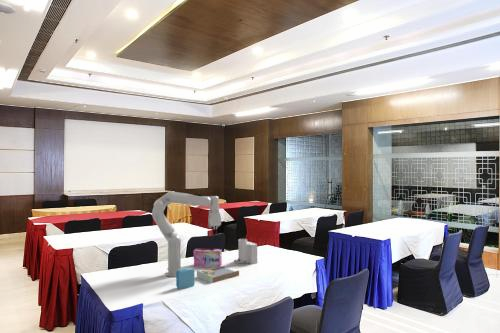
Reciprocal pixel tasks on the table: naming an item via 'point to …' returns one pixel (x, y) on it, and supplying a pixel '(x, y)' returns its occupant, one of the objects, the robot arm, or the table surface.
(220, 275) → the box
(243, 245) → the control panel
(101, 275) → the table surface
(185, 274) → the data package
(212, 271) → the maple block
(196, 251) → the gum box
